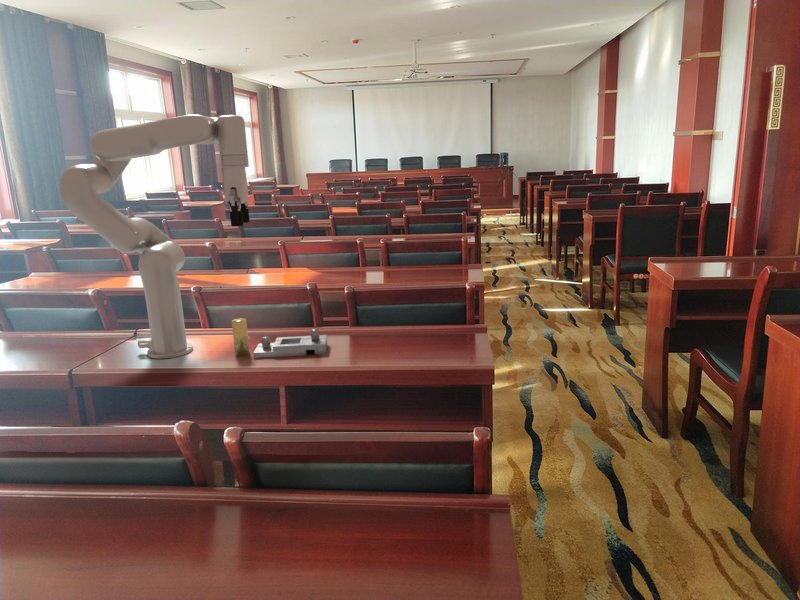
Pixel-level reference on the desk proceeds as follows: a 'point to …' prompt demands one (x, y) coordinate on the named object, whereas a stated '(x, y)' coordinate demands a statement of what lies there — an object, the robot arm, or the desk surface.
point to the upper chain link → (302, 343)
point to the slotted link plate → (267, 350)
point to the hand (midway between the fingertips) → (240, 224)
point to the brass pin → (240, 337)
